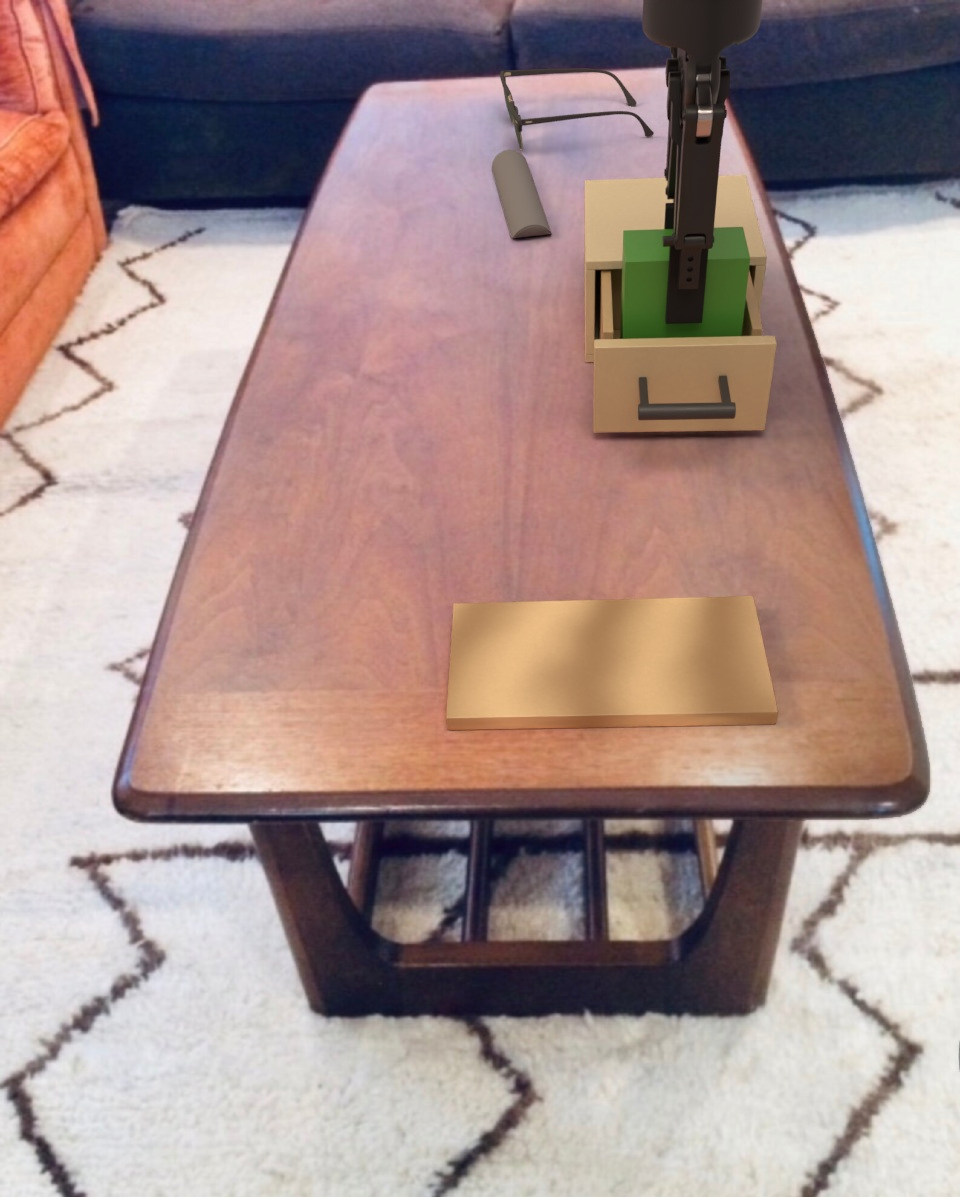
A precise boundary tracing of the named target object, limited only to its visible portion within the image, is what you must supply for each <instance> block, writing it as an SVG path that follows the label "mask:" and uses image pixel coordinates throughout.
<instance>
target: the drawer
mask: <svg viewBox="0 0 960 1197" xmlns="http://www.w3.org/2000/svg"><path fill="white" fill-rule="evenodd" d="M621 292H622V269H601V278H600V339H595V340H594V362H593V402H592V403H593V404H592V405H593V406H592V408H593V410H592V412H593V414H592V417H593V418H592V426H593V427H592V431H593V432H592V433H595V434H596V433H597V434H598V433H600V434H601V433H654V432H655V433H659V432H660V433H664V432H665V433H666V432H668V433H669V432H715V431H716V432H723V431H724V432H725V431H726V432H730V431H731V432H732V431H738V432H739V431H765V429H766V424H767V416H768V408H769V402H770V394H771V390H772V388H771V387H772V380H773V373H774V367H775V359H776V352H777V347H778V346H777V345H778V343H777V338H776V336H775V335H763V331H764V330H763V329H764V328H763V324H762V319H761V313H760V314H759V310H758V305H757V301H756V297H755V292H754V288H753V284H752V279H751V275H750V271H749V274H748V283H747V292H746V300H745V309H744V317H743V326H742V335H741V336H729V337H685V338H640V339H620V327H621Z"/></svg>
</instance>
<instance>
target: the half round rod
mask: <svg viewBox="0 0 960 1197" xmlns="http://www.w3.org/2000/svg"><path fill="white" fill-rule="evenodd" d="M491 163H492V164H491V172H492V176H493V179H494V183H495V185H496V189H497V193H498V197H499V201H500V203H501V207H502V210H503V214H504V217H505V221H506V225H507V228H508V232H509V234H510V235H509V236H510V237H511V238H513V239H517V238H528V237H535V236H536V237H537V236H545V235H550V234H552V230H551V227H550V224H549V222H548V218H547V215H546V213H545V209H544V207H543V204H542V201H541V198H540V195H539V192H538V189H537V186H536V184H535V180H534V178H533V175H532V171H531V168H530V166H529V164H528V161H527V158H526V157H525V155H523V153H522V152H520V151H518V150H515V149H506V150H503V151H500V152H498V153H497V154H496V156H495V157H494V158H493V160H492V162H491Z"/></svg>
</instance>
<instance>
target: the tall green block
mask: <svg viewBox="0 0 960 1197" xmlns="http://www.w3.org/2000/svg"><path fill="white" fill-rule="evenodd" d="M673 232H674V229H654V230H624V231H623V257H622V292H621V327H620V339H640V338H685V337H729V336H741V335H742V326H743V317H744V309H745V300H746V292H747V283H748V274H749V266H750V255H749V250H748V246H747V242H746V238H745V233H744V229H743V227H718V228H714V232H713V236H714V243H713V247H712V249H708V261H707V272H706V284H705V295H704V307H703V318H702V323H686V324H666V321H665V315H666V298H667V282H668V265H669V248H670V246H667V247H663V236H672V234H673Z"/></svg>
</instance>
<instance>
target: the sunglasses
mask: <svg viewBox="0 0 960 1197" xmlns="http://www.w3.org/2000/svg"><path fill="white" fill-rule="evenodd" d="M569 73H571V74H572V73H574V74H575V73H599V74H604V75H608V76H610V77H611V78H612V79H614V80H615V82H616V83H617V84H618V86H619V88H620V89H621V91H622V93H623V95H624V97H625V100H626V103H627V105H628V106H630V107H635V106H636V105H637V100H636V99H635V98H634V97H633V96H632V94H631V93H630V92H629V90H628V89H627V87H625V85H624V83H623V82H622V81H621V80H620V78H619V77H618V76H617V75H615V74H614V73H613V72H612V71H611V72H610V71H608V70H604V69H599V68H579V67H577V68H536V69H535V68H534V69H514V70H513V69H511V70H509V69H508V70H501V71H500V73H499V79H500V82H501V85H502V90H503V94H504V95H503V96H504V101H505V105H506V109H507V114H508V116H509V120H510V123H511V124H512V125H513V127H514V132H515V137H516V140H517V144H518V146H519V150H520V151H523V150H524V143H523V137H522V132H523V126H532V125H539V124H545V123H547V124H548V123H555V122H562V121H570V120H576V119H577V120H578V119H586V118H594V117H605V116H615V115H625V116H626V115H628V116H632V117H634V118H635V119H636V120H637V121H638V122H639V124H640V125H641V127H642V130H643V133H644V136H645V138H650V137H652V136H654V134H655V133H654V131H653V130H652V129H651V128H650V127H649V126H648V125H647V123H646V122H645V121H644V120H643V119H642V117H641V116H639V115H638V114H637V113H636V112H632V111H629V110H628V111H626V110H609V111H608V110H607V111H596V112H595V111H594V112H584V113H571V114H562V115H552V116H542V117H532V118H531V117H529V118H522V117H521V114H519V108H518V106H517V105H516V103H515V101H514V100H513V94H512V92H511V90H510V88H509V86H508V84H507V79H506V78H507V77H508V78H509V77H520V76H521V77H522V76H535V75H536V76H537V75H550V74H553V75H554V74H569Z"/></svg>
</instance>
